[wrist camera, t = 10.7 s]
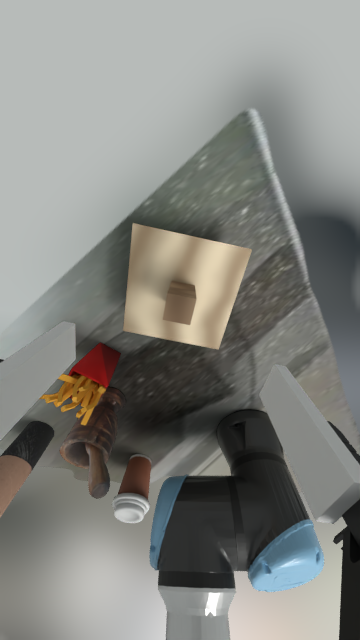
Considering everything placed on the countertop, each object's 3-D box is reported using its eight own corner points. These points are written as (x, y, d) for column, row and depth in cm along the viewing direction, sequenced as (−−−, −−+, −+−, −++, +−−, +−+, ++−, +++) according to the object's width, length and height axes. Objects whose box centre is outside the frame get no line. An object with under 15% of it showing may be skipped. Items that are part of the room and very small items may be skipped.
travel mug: (20, 426, 52) (-71, 531, 33) (39, 416, 50) (-47, 522, 31) (42, 442, 54) (-32, 549, 36) (61, 434, 52) (-8, 541, 34)
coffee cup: (162, 462, 56) (156, 518, 45) (140, 473, 58) (129, 529, 47) (140, 446, 53) (127, 501, 42) (118, 458, 56) (101, 513, 45)
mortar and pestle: (114, 370, 43) (59, 472, 24) (144, 392, 45) (114, 500, 26) (86, 397, 46) (20, 503, 28) (115, 415, 48) (71, 525, 30)
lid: (247, 248, 26) (271, 253, 18) (216, 342, 32) (225, 375, 24) (136, 223, 25) (115, 219, 18) (127, 325, 31) (108, 352, 24)
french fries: (113, 373, 43) (78, 438, 29) (79, 355, 41) (24, 415, 28) (131, 345, 40) (101, 403, 26) (95, 325, 38) (42, 375, 24)
